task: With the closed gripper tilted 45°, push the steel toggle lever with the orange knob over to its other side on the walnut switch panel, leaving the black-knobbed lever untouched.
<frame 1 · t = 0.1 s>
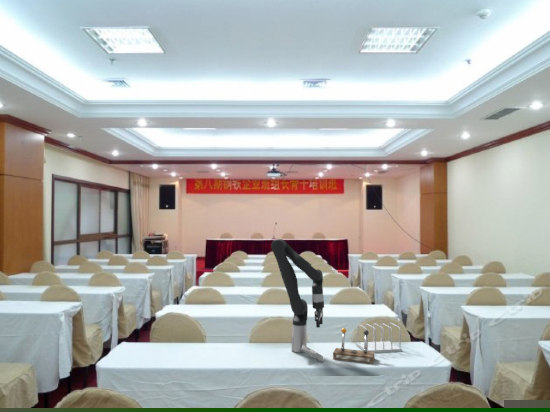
hand: (319, 325, 265), 17 cm above the table, tool pointing down, fingers open, 8 cm apart
file sorter: (378, 348, 275), on the table
lever black: (365, 341, 254), point 10 cm above the table, hinge at -25.0°
lever orange: (343, 339, 259), point 10 cm above the table, hinge at -25.0°
light switch: (312, 360, 251), on the table
switch panel: (353, 358, 253), on the table
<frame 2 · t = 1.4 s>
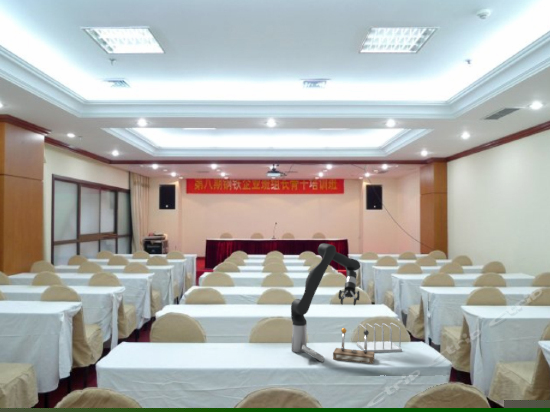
hand: (348, 304, 276), 29 cm above the table, tool tilted 45°, fingers open, 8 cm apart
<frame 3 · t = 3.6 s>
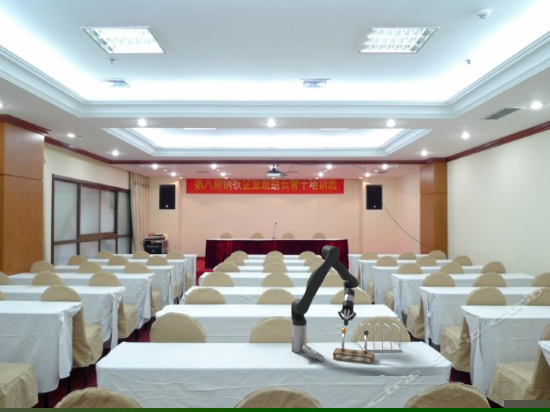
hand: (345, 325, 269), 17 cm above the table, tool tilted 45°, fingers closed
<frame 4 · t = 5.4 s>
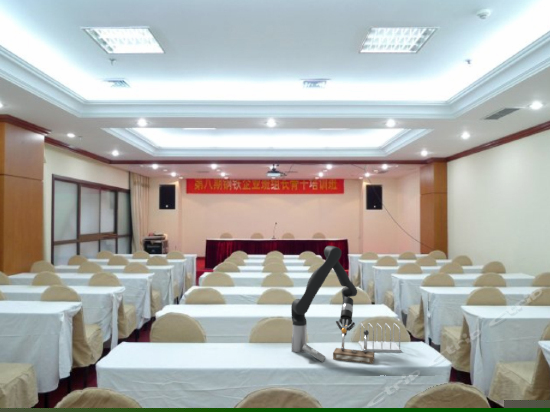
hand: (344, 335, 261), 12 cm above the table, tool tilted 45°, fingers closed
lever orange: (343, 339, 259), point 10 cm above the table, hinge at -24.8°, touching gripper
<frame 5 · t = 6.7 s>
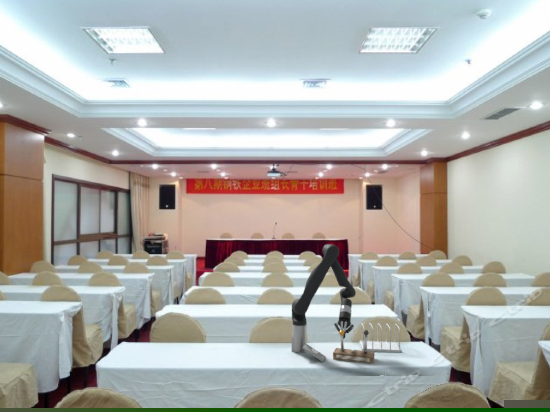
hand: (342, 338, 255), 12 cm above the table, tool tilted 45°, fingers closed
lever orange: (342, 340, 254), point 11 cm above the table, hinge at 14.1°, touching gripper
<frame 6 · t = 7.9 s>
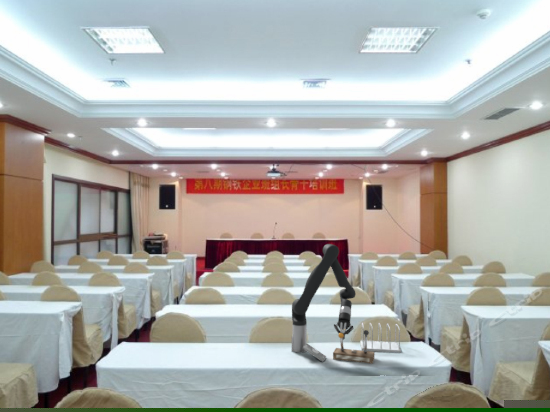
hand: (342, 339, 253), 12 cm above the table, tool tilted 45°, fingers closed
lever orange: (341, 342, 253), point 10 cm above the table, hinge at 27.0°, touching gripper
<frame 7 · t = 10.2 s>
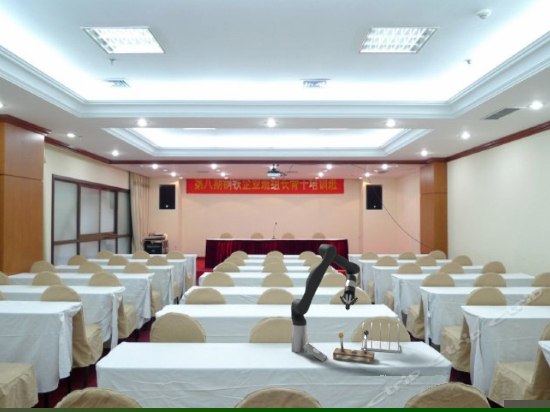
hand: (347, 309, 275), 26 cm above the table, tool tilted 45°, fingers closed
lever orange: (341, 342, 253), point 10 cm above the table, hinge at 27.0°
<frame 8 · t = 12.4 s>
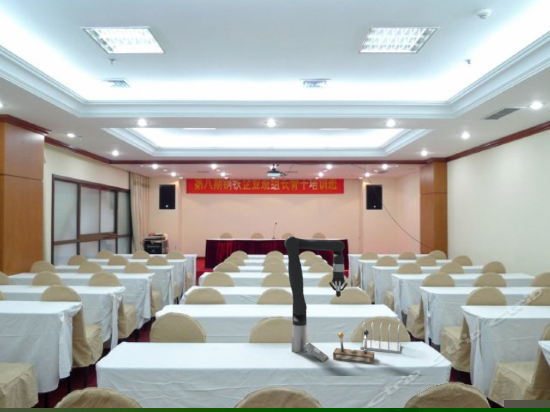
hand: (338, 296, 272), 35 cm above the table, tool pointing down, fingers closed
at the end: lever orange at +27° (first picture: -25°); lever black at -25° (first picture: -25°) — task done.
